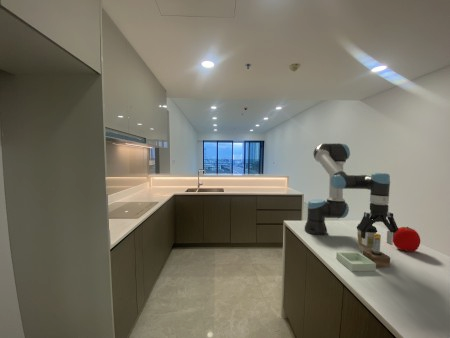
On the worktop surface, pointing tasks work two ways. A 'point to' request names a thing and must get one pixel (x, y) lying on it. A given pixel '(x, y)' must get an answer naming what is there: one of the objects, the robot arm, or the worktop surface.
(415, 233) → the tomato
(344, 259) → the tray
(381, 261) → the socket block
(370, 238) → the coffee cup
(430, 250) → the worktop surface
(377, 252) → the pin
